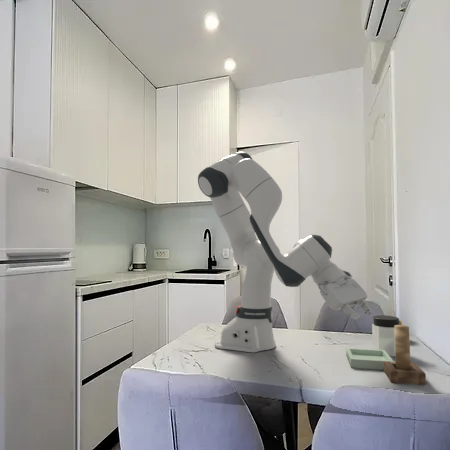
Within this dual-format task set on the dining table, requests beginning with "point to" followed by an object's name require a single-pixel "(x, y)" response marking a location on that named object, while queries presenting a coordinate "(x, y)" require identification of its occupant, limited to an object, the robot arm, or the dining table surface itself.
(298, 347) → the dining table surface
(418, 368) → the socket block
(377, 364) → the tray
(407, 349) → the dowel
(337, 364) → the dining table surface
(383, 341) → the jar
